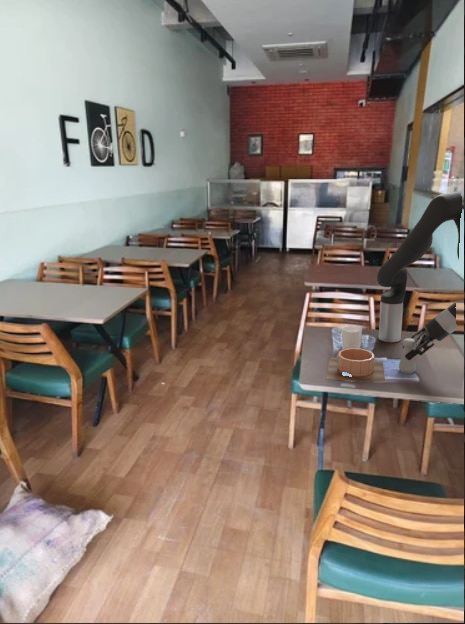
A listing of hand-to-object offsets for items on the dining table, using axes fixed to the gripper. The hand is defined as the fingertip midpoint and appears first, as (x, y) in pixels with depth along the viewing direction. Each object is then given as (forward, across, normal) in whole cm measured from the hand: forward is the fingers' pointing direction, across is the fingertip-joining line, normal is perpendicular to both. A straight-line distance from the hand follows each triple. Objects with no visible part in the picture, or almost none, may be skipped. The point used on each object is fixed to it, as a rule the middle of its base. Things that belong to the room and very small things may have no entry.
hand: (405, 353), depth 154 cm
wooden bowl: (+17, +2, -7) cm, 18 cm away
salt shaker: (+5, 0, +6) cm, 8 cm away
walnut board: (+17, +2, -7) cm, 19 cm away
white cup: (+19, -18, -8) cm, 27 cm away
